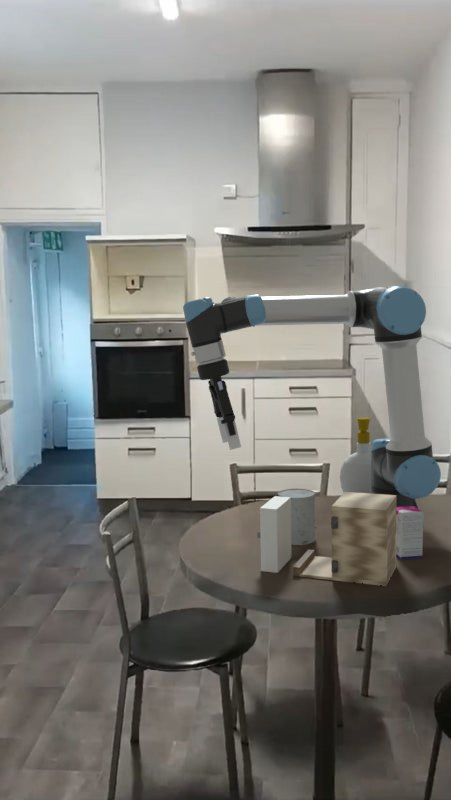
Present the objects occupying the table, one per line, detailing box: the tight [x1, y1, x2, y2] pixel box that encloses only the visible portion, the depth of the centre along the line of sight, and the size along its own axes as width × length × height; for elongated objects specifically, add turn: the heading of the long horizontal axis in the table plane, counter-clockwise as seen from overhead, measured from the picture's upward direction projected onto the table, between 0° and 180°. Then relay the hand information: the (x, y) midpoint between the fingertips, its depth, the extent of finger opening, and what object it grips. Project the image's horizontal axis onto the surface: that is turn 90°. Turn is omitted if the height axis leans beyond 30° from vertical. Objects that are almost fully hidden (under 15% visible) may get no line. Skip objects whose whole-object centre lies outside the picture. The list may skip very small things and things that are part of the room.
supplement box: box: [396, 506, 424, 560], centre depth 195 cm, size 6×6×12 cm
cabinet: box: [292, 492, 397, 587], centre depth 183 cm, size 21×14×17 cm
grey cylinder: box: [277, 488, 316, 546], centre depth 209 cm, size 10×10×12 cm
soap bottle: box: [339, 416, 372, 494], centre depth 241 cm, size 14×9×26 cm, turn 70°
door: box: [256, 495, 292, 573], centre depth 190 cm, size 5×11×15 cm, turn 159°
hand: (231, 445), depth 200 cm, fingers open, 13 cm apart
